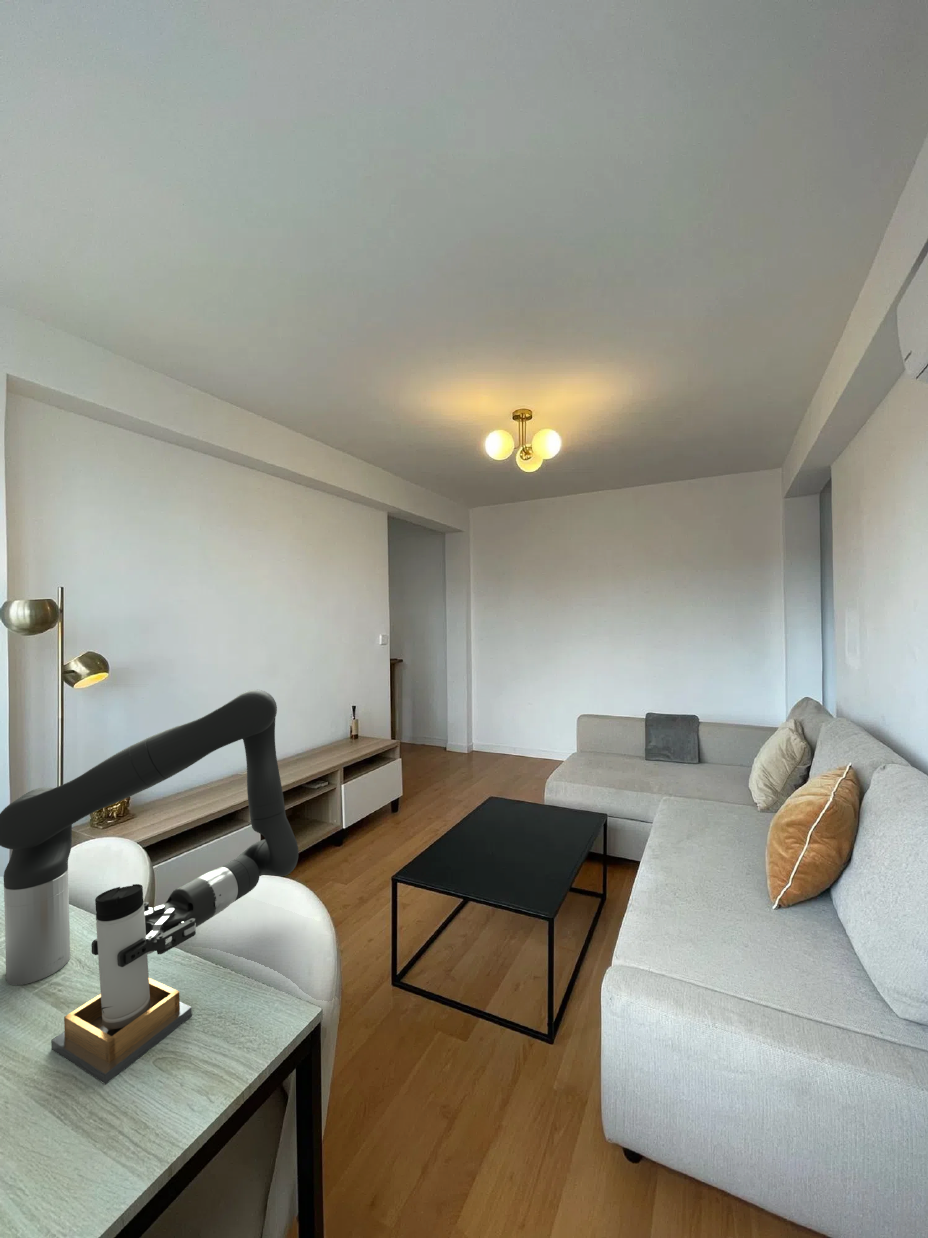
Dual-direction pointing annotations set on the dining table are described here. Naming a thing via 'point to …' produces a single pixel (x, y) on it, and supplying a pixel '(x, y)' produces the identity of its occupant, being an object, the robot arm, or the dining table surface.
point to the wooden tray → (118, 1033)
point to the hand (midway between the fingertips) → (106, 954)
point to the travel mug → (115, 932)
